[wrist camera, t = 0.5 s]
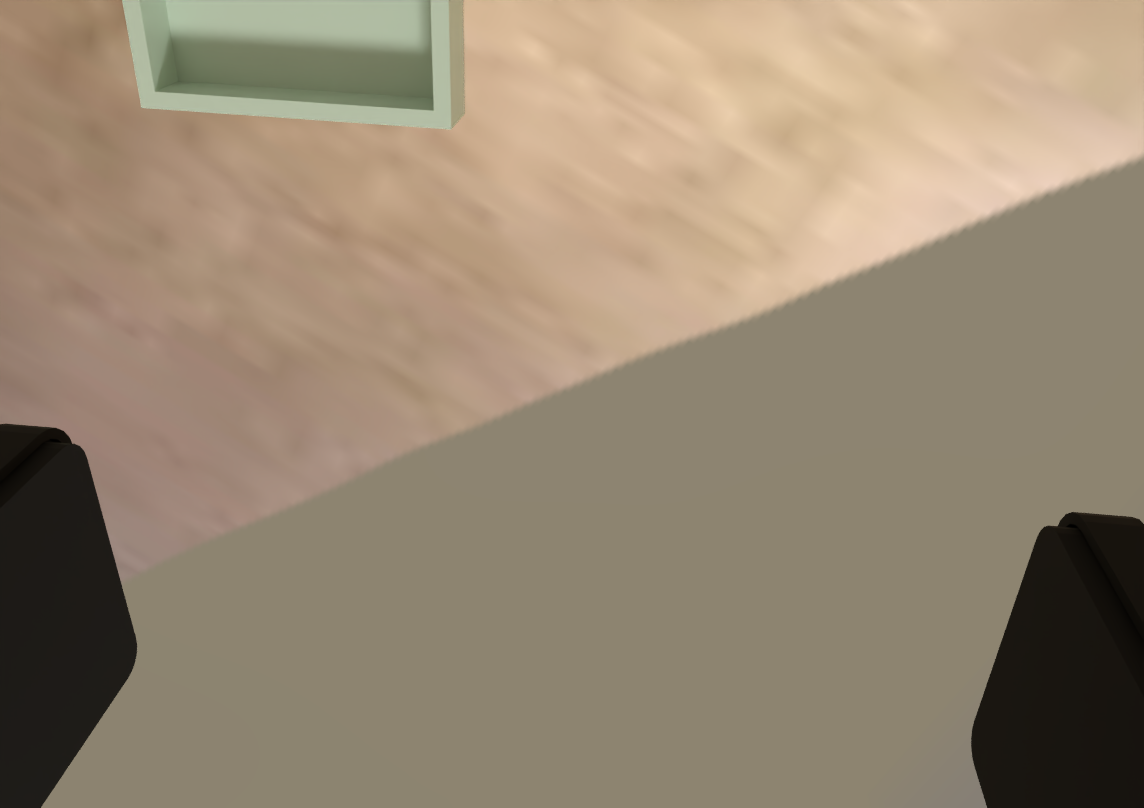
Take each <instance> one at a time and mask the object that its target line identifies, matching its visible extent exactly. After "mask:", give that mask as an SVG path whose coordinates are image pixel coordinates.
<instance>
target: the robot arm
mask: <svg viewBox="0 0 1144 808" xmlns="http://www.w3.org/2000/svg"><path fill="white" fill-rule="evenodd" d="M136 654H137V642H136V636H135V633H134V629H133V625H132V622H131V618H130V615H129V611H128V607H127V603H126V600H125V596H124V593H123V589H122V585H121V581H120V578H119V574H118V570H117V567H116V563H115V559H114V556H113V552H112V548H111V545H110V541H109V537H108V534H107V530H106V526H105V523H104V519H103V515H102V511H101V508H100V504H99V500H98V497H97V493H96V489H95V486H94V482H93V478H92V475H91V471H90V467H89V464H88V460H87V457H86V455H85V452H84V450H83V449H82V448H81V447H80V446H78V445H76V444H72V442H71V440H70V438H69V436H68V435H67V434H66V433H65V432H64V431H62V430H60V429H57V428H50V427H38V426H26V425H14V424H0V808H41V806H42V805H43V803H44V802H45V800H46V799H47V797H48V796H49V795H50V793H51V792H52V790H53V789H54V787H55V786H56V784H57V783H58V781H59V780H60V778H61V777H62V775H63V774H64V772H65V771H66V769H67V768H68V766H69V765H70V763H71V762H72V760H73V759H74V757H75V756H76V755H77V753H78V751H79V750H80V749H81V747H82V746H83V744H84V743H85V741H86V740H87V738H88V736H89V735H90V734H91V732H92V731H93V729H94V728H95V726H96V725H97V723H98V722H99V720H100V719H101V717H102V716H103V714H104V713H105V711H106V710H107V709H108V707H109V706H110V704H111V703H112V701H113V700H114V698H115V697H116V695H117V693H118V692H119V691H120V689H121V687H122V686H123V685H124V683H125V682H126V680H127V679H128V677H129V675H130V673H131V672H132V669H133V666H134V663H135V659H136ZM971 740H972V741H971V747H972V757H973V761H974V766H975V769H976V772H977V776H978V779H979V782H980V786H981V789H982V792H983V795H984V799H985V802H986V805H987V808H1144V524H1143V523H1142V522H1141V521H1140V520H1139V519H1136V518H1133V517H1126V516H1112V515H1101V514H1089V513H1076V512H1071V513H1068V514H1066V515H1065V516H1064V517H1063V518H1062V519H1061V521H1060V523H1059V525H1058V526H1046V527H1044V528H1043V529H1042V530H1041V531H1040V533H1039V535H1038V537H1037V539H1036V542H1035V545H1034V548H1033V551H1032V554H1031V557H1030V560H1029V562H1028V566H1027V568H1026V571H1025V574H1024V577H1023V580H1022V583H1021V586H1020V589H1019V592H1018V595H1017V598H1016V601H1015V604H1014V607H1013V609H1012V612H1011V615H1010V618H1009V621H1008V624H1007V627H1006V630H1005V633H1004V636H1003V639H1002V642H1001V644H1000V647H999V650H998V653H997V656H996V659H995V662H994V665H993V668H992V671H991V674H990V677H989V680H988V683H987V686H986V689H985V691H984V694H983V698H982V700H981V703H980V706H979V709H978V712H977V715H976V718H975V721H974V724H973V729H972V738H971Z"/></svg>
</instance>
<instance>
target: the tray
mask: <svg viewBox="0 0 1144 808" xmlns="http://www.w3.org/2000/svg"><path fill="white" fill-rule="evenodd" d="M122 1H123V7H124V13H125V18H126V24H127V29H128V35H129V41H130V46H131V52H132V57H133V63H134V69H135V74H136V80H137V85H138V91H139V97H140V102H141V108H151V109H165V110H179V111H194V112H208V113H222V114H237V115H251V116H265V117H280V118H294V119H308V120H322V121H337V122H351V123H365V124H380V125H394V126H408V127H423V128H437V129H452V128H453V127H454V126H455V125H456V123H457V122H458V121H459V120H460V119H461V118H462V116H463V115H464V114H465V107H464V35H463V0H122Z"/></svg>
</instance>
